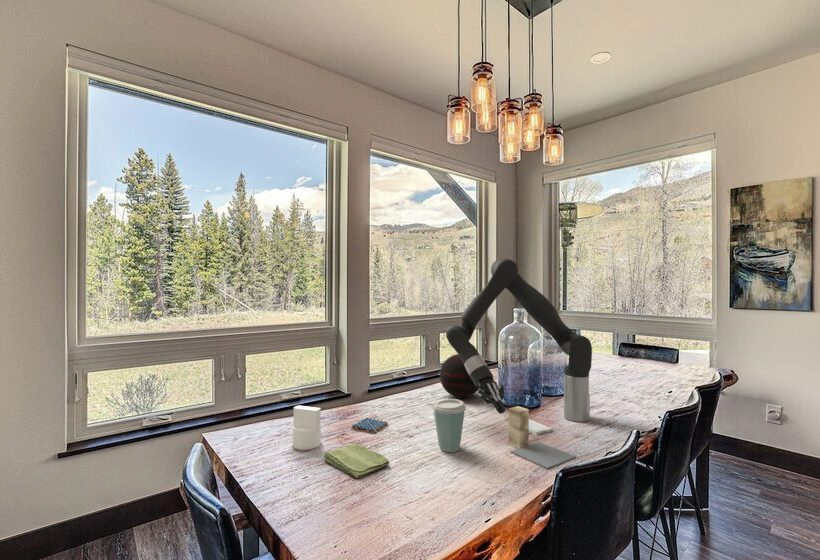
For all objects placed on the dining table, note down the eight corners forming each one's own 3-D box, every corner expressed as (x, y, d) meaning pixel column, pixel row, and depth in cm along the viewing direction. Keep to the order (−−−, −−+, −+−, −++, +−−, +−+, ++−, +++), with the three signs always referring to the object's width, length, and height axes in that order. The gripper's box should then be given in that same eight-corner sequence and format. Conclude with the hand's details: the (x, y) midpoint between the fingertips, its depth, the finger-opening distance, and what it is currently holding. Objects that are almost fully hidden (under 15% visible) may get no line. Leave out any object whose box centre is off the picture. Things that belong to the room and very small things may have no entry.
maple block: (517, 441, 141) (518, 406, 141) (528, 445, 137) (528, 409, 137) (508, 444, 138) (509, 408, 138) (519, 448, 134) (519, 411, 134)
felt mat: (538, 442, 139) (538, 441, 139) (575, 457, 128) (575, 456, 128) (510, 452, 131) (510, 451, 131) (547, 469, 120) (547, 467, 120)
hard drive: (512, 421, 158) (536, 431, 147) (528, 418, 161) (552, 428, 150) (512, 425, 158) (536, 436, 147) (528, 422, 161) (552, 432, 150)
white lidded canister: (325, 440, 140) (325, 405, 140) (311, 451, 132) (311, 413, 132) (302, 437, 143) (303, 402, 143) (287, 447, 135) (287, 410, 135)
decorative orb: (463, 406, 180) (463, 360, 180) (430, 396, 195) (431, 353, 195) (491, 397, 193) (491, 354, 193) (459, 388, 208) (459, 349, 208)
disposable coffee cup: (443, 457, 127) (444, 409, 127) (426, 445, 137) (426, 399, 137) (471, 451, 132) (472, 404, 132) (453, 439, 142) (453, 395, 142)
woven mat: (349, 430, 151) (349, 425, 151) (366, 422, 160) (366, 416, 160) (373, 435, 146) (374, 430, 146) (389, 426, 156) (389, 421, 156)
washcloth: (357, 482, 112) (357, 470, 112) (321, 461, 125) (321, 451, 125) (392, 467, 122) (392, 456, 122) (355, 449, 134) (355, 439, 134)
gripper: (470, 366, 147) (495, 410, 137) (496, 362, 155) (521, 403, 145) (460, 378, 152) (483, 421, 142) (485, 374, 159) (510, 414, 149)
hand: (502, 412), depth 143 cm, fingers closed
